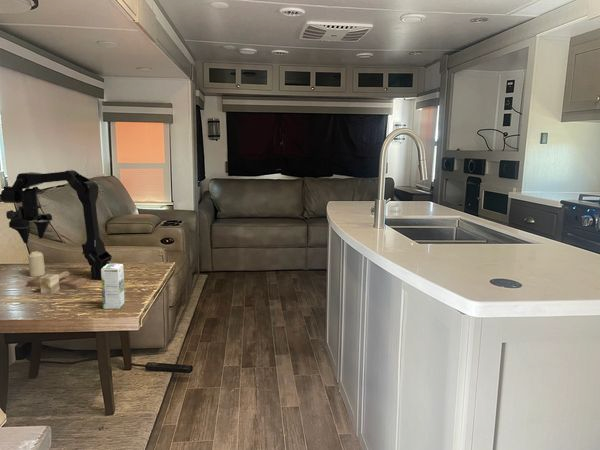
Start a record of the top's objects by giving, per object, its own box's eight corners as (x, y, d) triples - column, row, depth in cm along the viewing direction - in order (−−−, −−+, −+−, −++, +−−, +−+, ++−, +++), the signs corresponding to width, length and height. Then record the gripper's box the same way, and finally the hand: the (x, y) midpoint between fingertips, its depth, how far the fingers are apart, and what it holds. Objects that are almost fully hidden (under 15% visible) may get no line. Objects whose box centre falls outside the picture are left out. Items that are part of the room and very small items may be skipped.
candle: (38, 277, 185) (36, 253, 183) (26, 276, 186) (24, 253, 184) (48, 273, 190) (46, 250, 188) (37, 272, 191) (34, 249, 189)
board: (86, 283, 178) (85, 278, 178) (76, 288, 172) (76, 283, 171) (38, 281, 180) (38, 276, 179) (27, 286, 173) (27, 281, 173)
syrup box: (108, 303, 157) (105, 263, 154) (125, 303, 158) (123, 263, 155) (102, 309, 152) (99, 268, 149) (120, 309, 152) (118, 268, 149)
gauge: (72, 282, 179) (71, 268, 178) (51, 294, 166) (49, 278, 165) (63, 282, 179) (61, 267, 178) (40, 293, 166) (39, 278, 165)
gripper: (26, 200, 192) (30, 235, 195) (-7, 206, 174) (-2, 245, 177) (51, 200, 191) (54, 236, 194) (20, 207, 173) (25, 246, 176)
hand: (33, 240), depth 185 cm, fingers open, 9 cm apart
